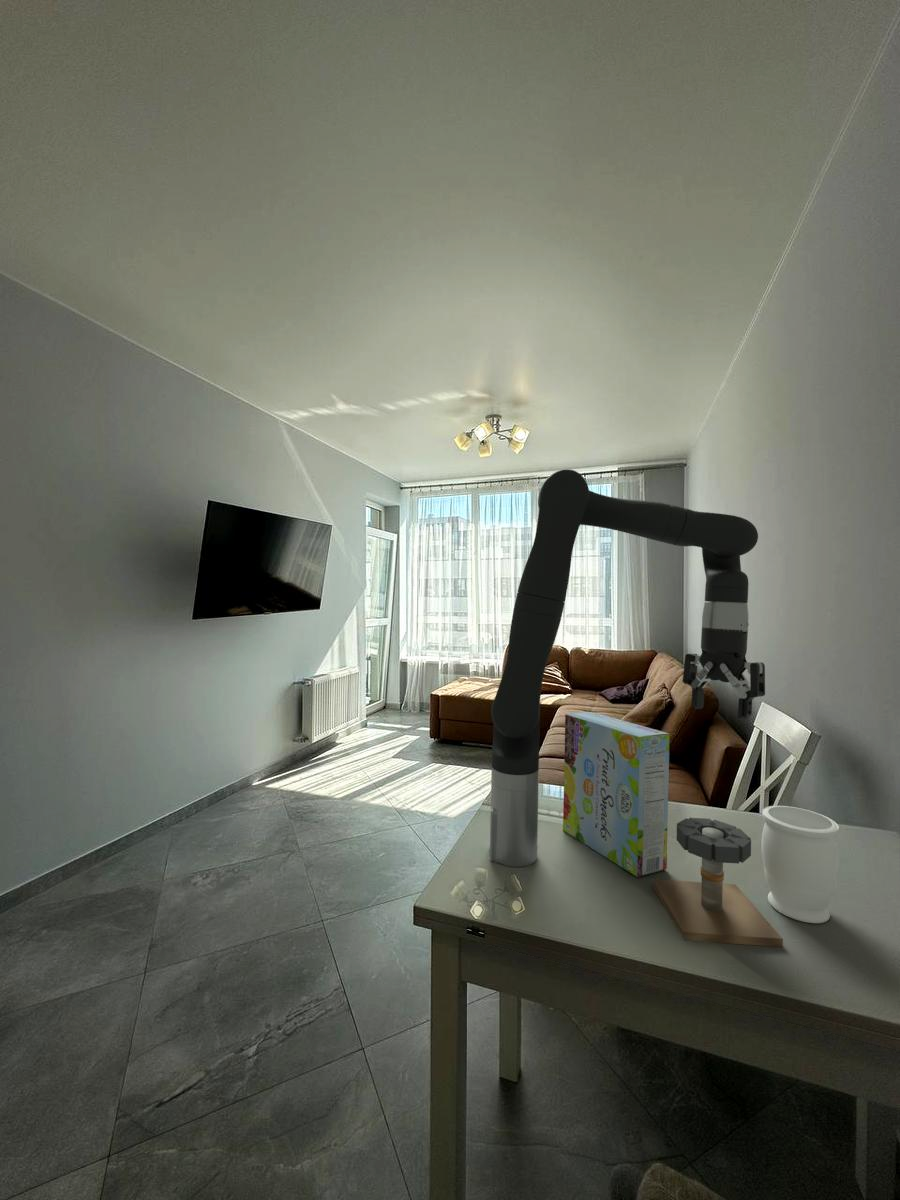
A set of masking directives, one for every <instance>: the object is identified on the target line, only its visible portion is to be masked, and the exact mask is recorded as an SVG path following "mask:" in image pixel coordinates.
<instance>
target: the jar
mask: <svg viewBox="0 0 900 1200" xmlns="http://www.w3.org/2000/svg"><path fill="white" fill-rule="evenodd" d="M761 817H762V819H763V820H764V821H765V822H764V825H763V829H762V833H761V841H760V842H761V844H760V848H761V858H762V862H763V863H762V864H763V871H764V877H765V880H766V883H767V886H768V888H769V890H770V891H769V893H768V895H767V900H768V903H769V905H770V906H771V907H772V908H773V909H775V910H776V911H777V912H779V913H780V914H782V915H784V916H786V917H789V918H790V919H793V920H796V921H799V922H803V923H807V924H808V923H810V924H823V923H826V922H827V921H828V920H830V917H831V916H830V915H831V914H830V911H829V909H828V906H829V904H830V903H831V901H832V899H833V896H834V893H835V889H836V884H837V881H838V875H839V868H840V867H839V866H840V865H839V864H840V857H839V849H838V848H839V847H838V844H837V839H836V836H838V834H839V833H840V827H839V825H838V823H836V822H835V820H834V819H832V818H829V817H827V816H826V815H823V814H821V813H819V812H815V811H812V810H809V809H805V808H800V807H796V806H788V805H769V806H765V807H764V808H762V811H761Z"/></svg>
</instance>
